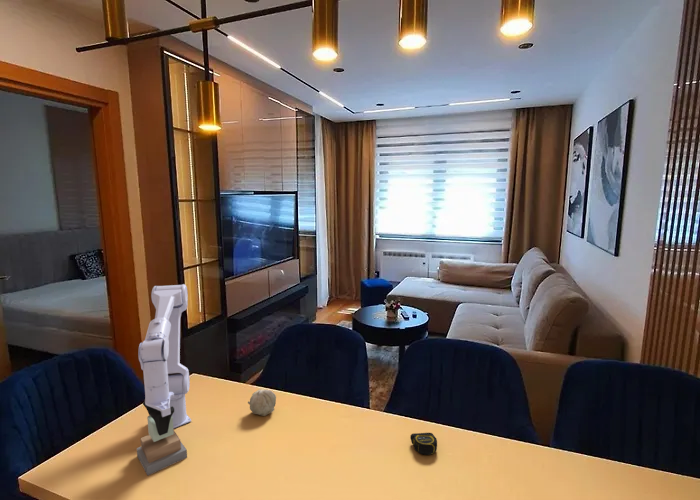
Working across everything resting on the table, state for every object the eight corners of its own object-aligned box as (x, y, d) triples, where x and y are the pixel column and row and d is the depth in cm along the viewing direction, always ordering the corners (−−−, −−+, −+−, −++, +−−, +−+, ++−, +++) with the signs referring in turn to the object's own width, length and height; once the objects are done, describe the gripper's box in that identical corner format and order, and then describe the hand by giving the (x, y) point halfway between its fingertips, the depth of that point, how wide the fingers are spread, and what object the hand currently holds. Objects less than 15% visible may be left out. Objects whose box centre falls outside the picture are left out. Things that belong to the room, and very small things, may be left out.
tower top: (141, 448, 103) (140, 438, 103) (171, 435, 108) (171, 426, 108) (149, 463, 97) (148, 452, 97) (181, 449, 102) (180, 439, 102)
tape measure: (432, 441, 110) (433, 429, 109) (440, 457, 103) (440, 445, 102) (410, 442, 109) (410, 431, 109) (415, 458, 102) (416, 446, 102)
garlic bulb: (275, 417, 126) (284, 392, 124) (260, 426, 118) (269, 400, 117) (256, 402, 129) (264, 378, 128) (240, 411, 122) (249, 385, 121)
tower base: (137, 458, 103) (136, 448, 103) (175, 442, 110) (174, 432, 110) (147, 477, 96) (146, 467, 96) (187, 459, 103) (186, 449, 102)
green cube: (148, 433, 102) (147, 416, 101) (167, 426, 106) (166, 409, 105) (153, 442, 99) (152, 424, 98) (173, 434, 102) (172, 417, 101)
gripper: (181, 387, 97) (184, 435, 99) (163, 368, 108) (167, 412, 110) (152, 397, 92) (156, 446, 94) (136, 376, 103) (140, 421, 105)
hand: (160, 429), depth 102 cm, fingers closed on green cube, 5 cm apart
